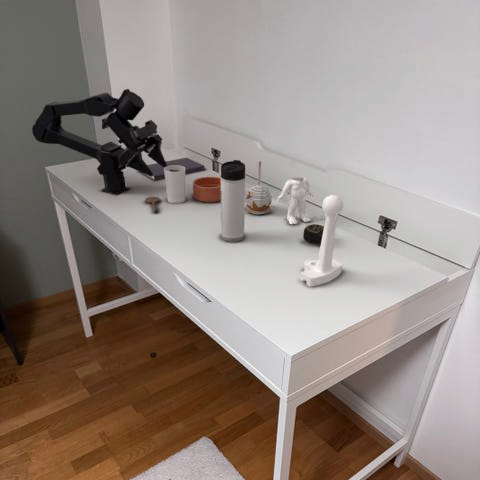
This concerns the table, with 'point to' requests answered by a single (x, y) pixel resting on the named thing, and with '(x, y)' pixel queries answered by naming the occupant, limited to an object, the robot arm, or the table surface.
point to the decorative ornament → (258, 198)
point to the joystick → (325, 248)
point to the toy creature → (296, 198)
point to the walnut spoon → (153, 202)
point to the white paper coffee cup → (175, 183)
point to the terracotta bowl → (207, 189)
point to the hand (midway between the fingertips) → (159, 171)
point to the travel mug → (232, 200)
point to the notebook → (185, 162)
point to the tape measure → (313, 233)
